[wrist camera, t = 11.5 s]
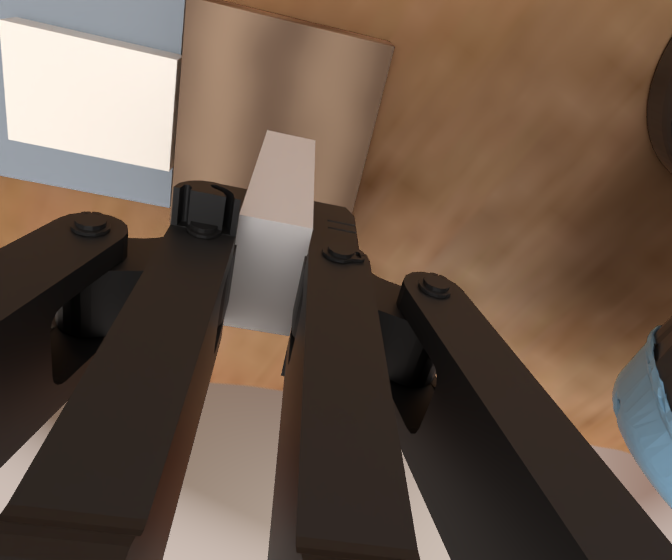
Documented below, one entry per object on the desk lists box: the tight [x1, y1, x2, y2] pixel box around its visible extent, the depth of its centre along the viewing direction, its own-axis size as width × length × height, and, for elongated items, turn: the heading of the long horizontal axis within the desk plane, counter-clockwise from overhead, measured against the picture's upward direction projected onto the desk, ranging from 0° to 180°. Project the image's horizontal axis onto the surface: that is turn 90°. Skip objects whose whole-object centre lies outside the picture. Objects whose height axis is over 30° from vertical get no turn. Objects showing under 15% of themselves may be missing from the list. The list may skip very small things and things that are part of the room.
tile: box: [0, 17, 182, 172], centre depth 34 cm, size 10×7×2 cm
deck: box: [170, 0, 395, 224], centre depth 35 cm, size 12×14×3 cm
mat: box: [0, 0, 186, 208], centre depth 34 cm, size 14×14×1 cm
